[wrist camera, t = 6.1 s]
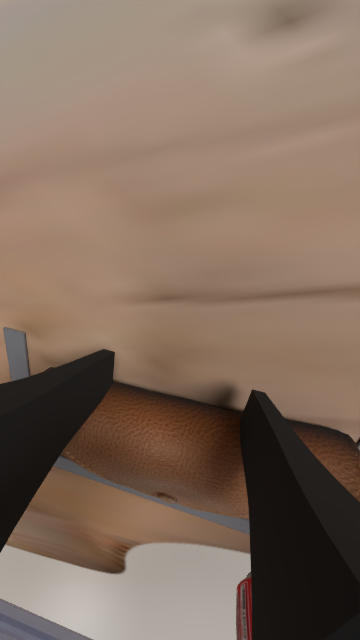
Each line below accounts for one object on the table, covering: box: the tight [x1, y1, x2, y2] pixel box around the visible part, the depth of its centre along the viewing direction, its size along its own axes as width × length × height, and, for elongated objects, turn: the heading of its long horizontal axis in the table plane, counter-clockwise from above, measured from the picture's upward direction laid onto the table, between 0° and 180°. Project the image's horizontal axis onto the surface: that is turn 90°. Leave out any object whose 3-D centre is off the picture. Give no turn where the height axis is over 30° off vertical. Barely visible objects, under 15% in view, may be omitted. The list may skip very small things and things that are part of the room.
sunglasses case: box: [44, 367, 360, 519], centre depth 13 cm, size 18×7×7 cm
